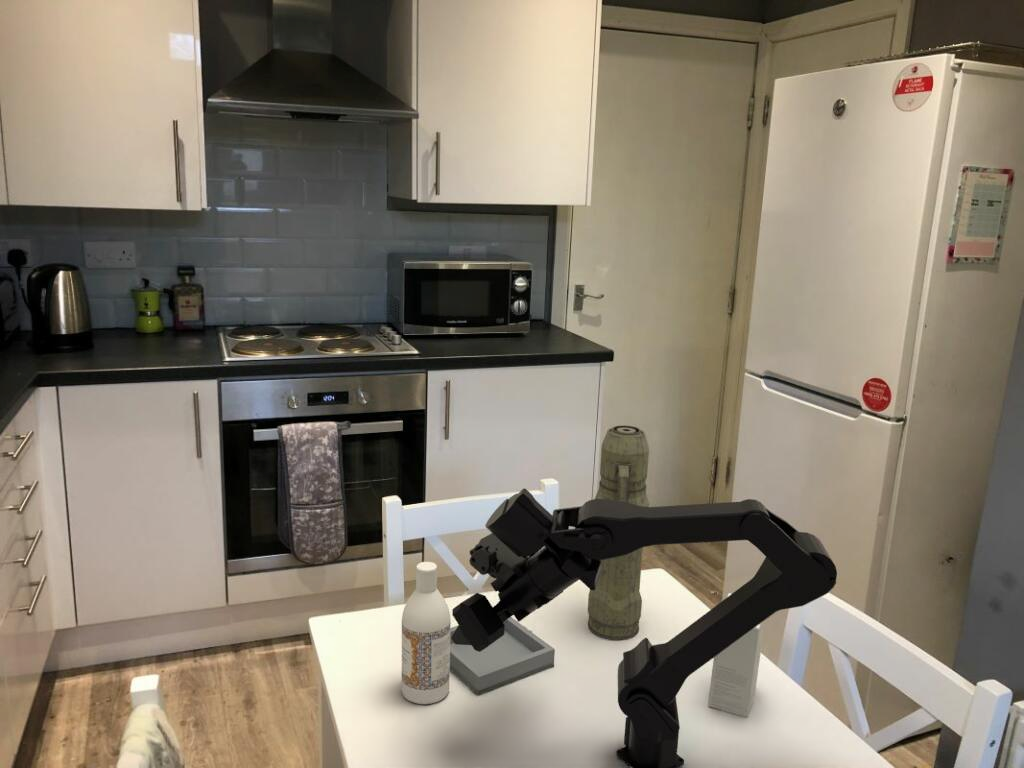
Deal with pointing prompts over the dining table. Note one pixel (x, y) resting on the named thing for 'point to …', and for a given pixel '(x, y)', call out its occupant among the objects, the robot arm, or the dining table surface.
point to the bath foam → (426, 640)
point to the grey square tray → (501, 658)
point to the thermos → (619, 583)
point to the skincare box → (737, 674)
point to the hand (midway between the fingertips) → (474, 626)
